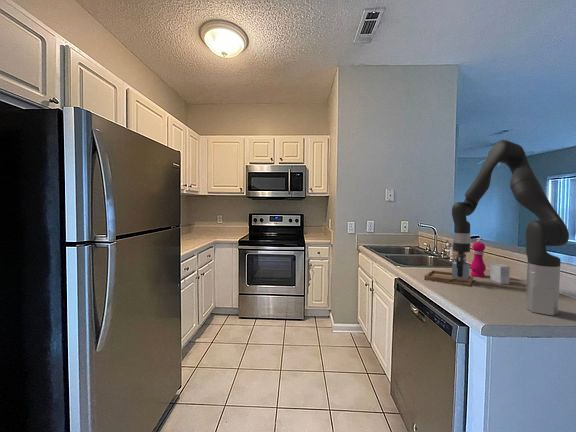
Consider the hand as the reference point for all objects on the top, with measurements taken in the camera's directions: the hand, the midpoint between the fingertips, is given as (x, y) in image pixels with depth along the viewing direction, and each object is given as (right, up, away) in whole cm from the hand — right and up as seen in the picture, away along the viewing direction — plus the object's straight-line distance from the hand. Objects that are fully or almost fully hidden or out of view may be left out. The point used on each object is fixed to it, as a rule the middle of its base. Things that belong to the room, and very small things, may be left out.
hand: (460, 275), depth 152 cm
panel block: (0, -2, 0) cm, 2 cm away
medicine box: (+19, -3, 0) cm, 20 cm away
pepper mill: (+16, -3, +12) cm, 20 cm away
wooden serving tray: (-4, -3, +3) cm, 6 cm away
